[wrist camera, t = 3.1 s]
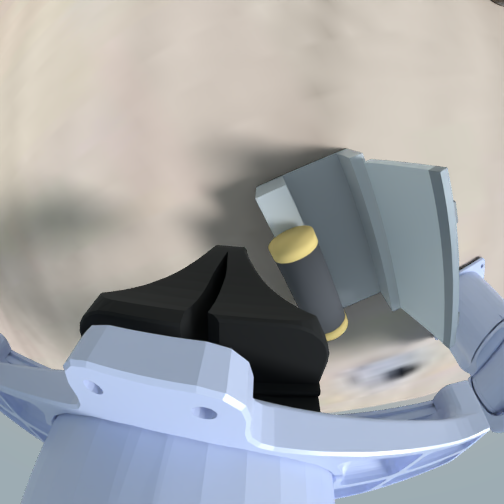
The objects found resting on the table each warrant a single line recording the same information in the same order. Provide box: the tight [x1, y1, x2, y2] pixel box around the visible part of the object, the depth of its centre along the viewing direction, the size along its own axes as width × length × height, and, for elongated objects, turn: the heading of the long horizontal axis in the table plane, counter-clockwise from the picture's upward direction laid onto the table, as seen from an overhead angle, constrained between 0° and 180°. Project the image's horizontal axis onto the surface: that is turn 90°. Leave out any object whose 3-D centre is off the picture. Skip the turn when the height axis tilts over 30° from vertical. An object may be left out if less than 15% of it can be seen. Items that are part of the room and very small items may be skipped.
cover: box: [364, 159, 460, 349], centre depth 15 cm, size 13×7×1 cm
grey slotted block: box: [255, 149, 401, 332], centre depth 21 cm, size 14×8×4 cm, turn 26°
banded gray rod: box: [268, 225, 348, 341], centre depth 19 cm, size 8×3×3 cm, turn 26°
